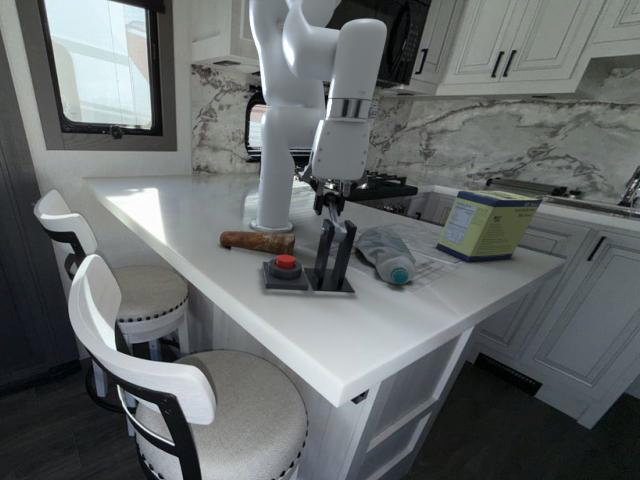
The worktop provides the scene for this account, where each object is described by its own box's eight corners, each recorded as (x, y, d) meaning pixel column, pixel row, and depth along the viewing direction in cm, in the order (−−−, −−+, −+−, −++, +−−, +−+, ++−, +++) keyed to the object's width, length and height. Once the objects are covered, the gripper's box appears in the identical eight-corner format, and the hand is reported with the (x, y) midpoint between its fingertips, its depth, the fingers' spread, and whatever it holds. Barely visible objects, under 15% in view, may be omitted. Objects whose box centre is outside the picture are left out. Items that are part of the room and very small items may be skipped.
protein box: (511, 258, 81) (544, 199, 73) (467, 262, 77) (497, 199, 69) (475, 244, 90) (501, 190, 82) (434, 247, 86) (457, 190, 78)
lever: (319, 201, 65) (323, 187, 62) (333, 201, 65) (338, 188, 63) (328, 243, 57) (333, 230, 55) (345, 244, 57) (350, 231, 55)
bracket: (302, 272, 67) (312, 214, 60) (338, 274, 67) (352, 216, 60) (311, 295, 58) (325, 230, 52) (353, 297, 58) (371, 232, 52)
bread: (290, 261, 72) (294, 239, 69) (216, 248, 77) (216, 226, 74) (295, 252, 77) (299, 231, 74) (225, 240, 82) (226, 219, 79)
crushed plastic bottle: (350, 246, 82) (356, 286, 61) (359, 220, 79) (369, 253, 57) (401, 257, 80) (425, 302, 59) (412, 231, 77) (443, 269, 55)
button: (275, 262, 62) (276, 254, 61) (292, 262, 62) (293, 254, 61) (276, 269, 59) (278, 261, 58) (295, 270, 59) (296, 262, 58)
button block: (261, 270, 66) (263, 253, 64) (298, 272, 67) (301, 255, 65) (265, 293, 58) (267, 274, 56) (306, 295, 58) (310, 276, 56)
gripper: (383, 115, 59) (359, 211, 68) (298, 110, 58) (285, 208, 67) (401, 115, 52) (372, 221, 61) (305, 109, 52) (290, 217, 61)
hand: (327, 213), depth 64 cm, fingers closed on lever, 3 cm apart
